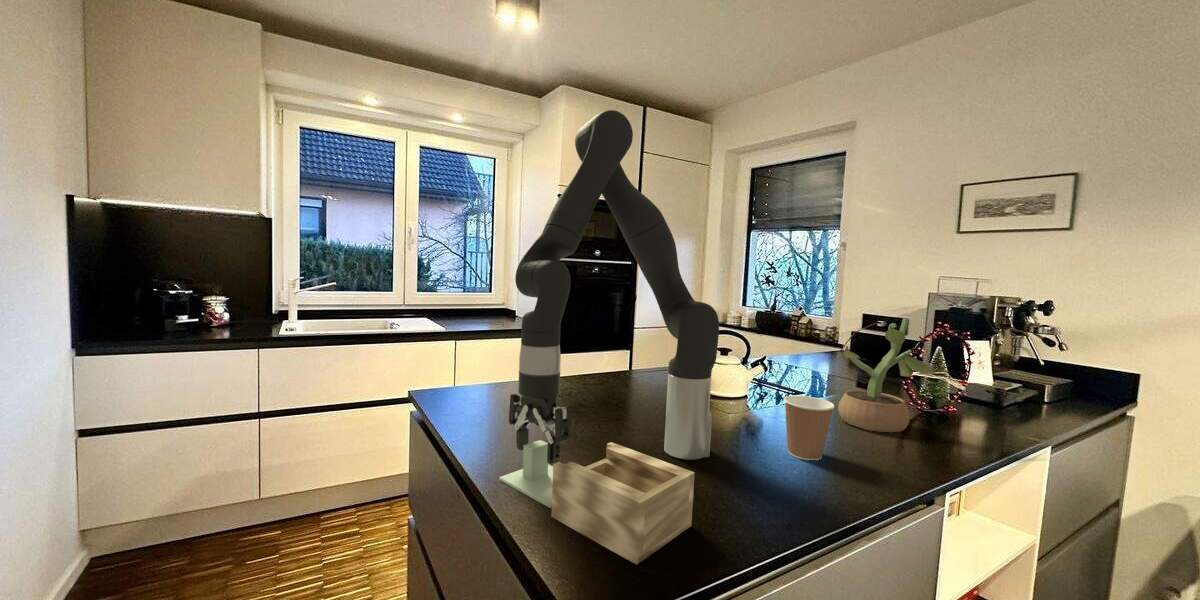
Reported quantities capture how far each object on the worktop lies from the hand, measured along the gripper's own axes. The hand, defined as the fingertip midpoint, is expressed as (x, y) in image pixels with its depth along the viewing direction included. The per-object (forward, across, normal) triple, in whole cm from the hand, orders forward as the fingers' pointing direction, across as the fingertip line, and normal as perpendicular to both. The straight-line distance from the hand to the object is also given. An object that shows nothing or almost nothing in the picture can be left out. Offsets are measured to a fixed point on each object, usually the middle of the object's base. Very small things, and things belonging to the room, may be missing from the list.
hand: (537, 455), depth 88 cm
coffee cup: (+5, -31, -52) cm, 60 cm away
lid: (+5, -3, 0) cm, 6 cm away
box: (+5, -20, 0) cm, 21 cm away
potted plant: (+5, -39, -87) cm, 95 cm away
